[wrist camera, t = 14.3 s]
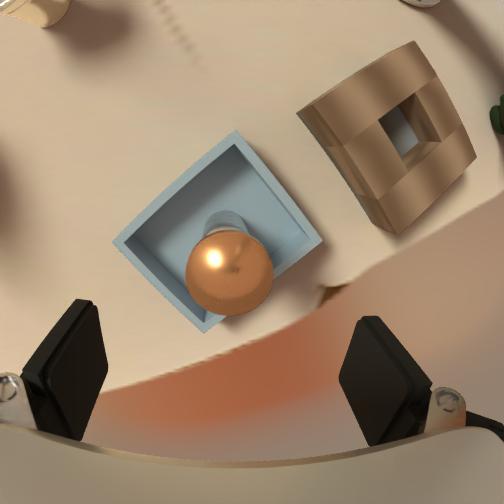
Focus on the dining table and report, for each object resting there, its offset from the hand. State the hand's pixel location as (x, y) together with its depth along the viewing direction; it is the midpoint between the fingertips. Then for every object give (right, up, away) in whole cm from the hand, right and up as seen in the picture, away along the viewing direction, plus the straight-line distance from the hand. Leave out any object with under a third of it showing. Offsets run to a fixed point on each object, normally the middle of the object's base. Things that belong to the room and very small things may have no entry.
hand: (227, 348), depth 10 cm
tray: (-3, +5, +19) cm, 19 cm away
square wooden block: (+15, +16, +17) cm, 28 cm away
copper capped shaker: (-2, +5, +18) cm, 19 cm away
